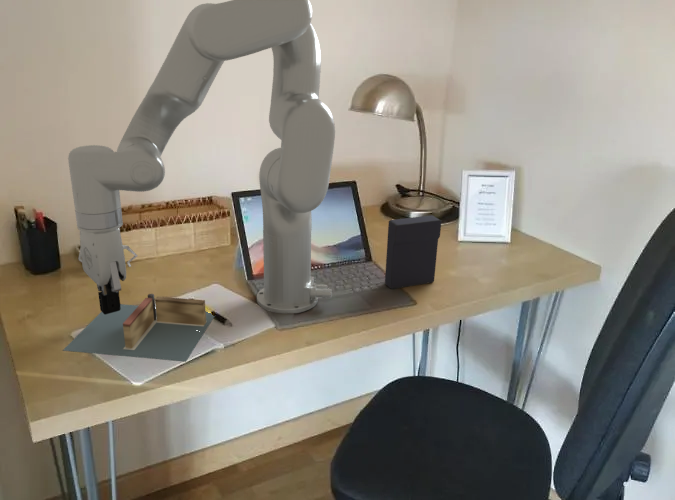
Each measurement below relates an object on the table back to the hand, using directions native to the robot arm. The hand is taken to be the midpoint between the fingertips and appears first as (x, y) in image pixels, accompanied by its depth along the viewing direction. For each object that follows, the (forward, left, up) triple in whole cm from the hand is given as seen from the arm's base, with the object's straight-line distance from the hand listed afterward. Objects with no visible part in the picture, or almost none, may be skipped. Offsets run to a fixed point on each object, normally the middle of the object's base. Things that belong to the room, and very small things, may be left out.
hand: (110, 310), depth 115 cm
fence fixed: (-12, -3, -3) cm, 12 cm away
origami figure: (+12, -25, -4) cm, 28 cm away
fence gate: (-7, +3, -2) cm, 8 cm away
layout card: (-7, +1, -3) cm, 8 cm away
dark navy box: (-55, -29, -3) cm, 62 cm away
